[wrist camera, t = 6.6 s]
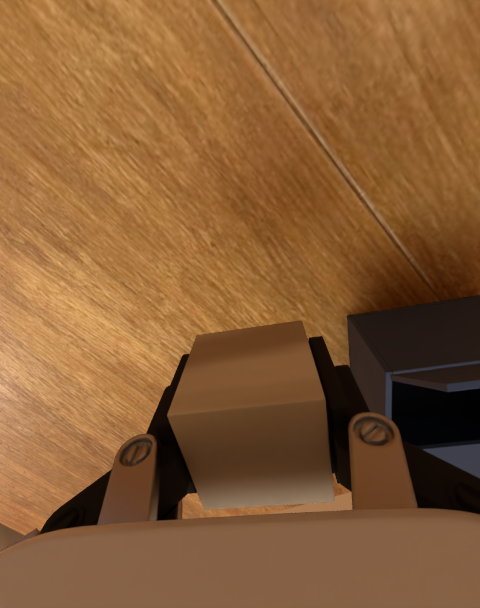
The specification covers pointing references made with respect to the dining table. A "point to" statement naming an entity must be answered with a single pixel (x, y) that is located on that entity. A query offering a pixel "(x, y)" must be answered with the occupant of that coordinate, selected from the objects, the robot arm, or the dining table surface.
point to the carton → (418, 357)
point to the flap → (444, 378)
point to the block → (254, 419)
